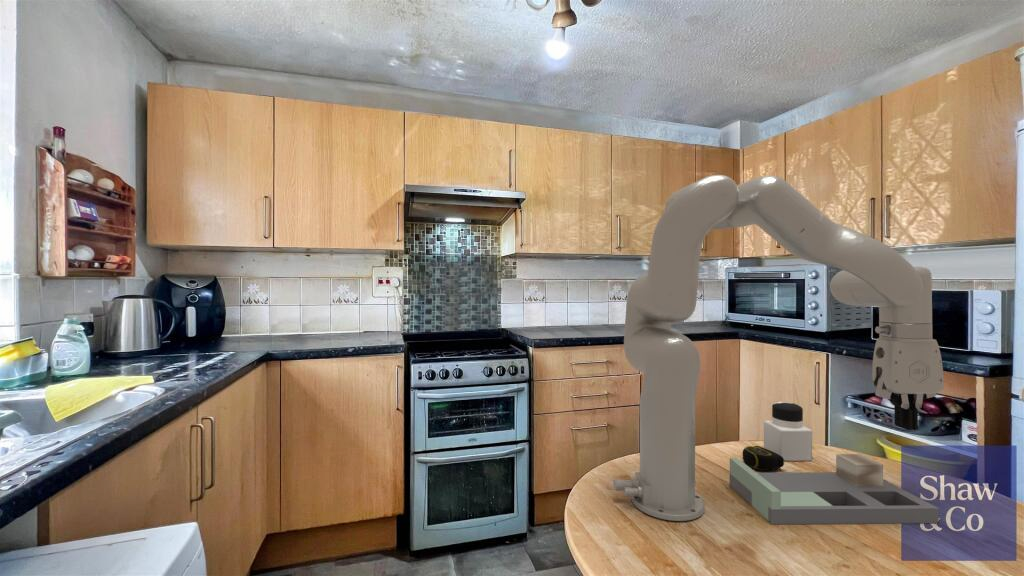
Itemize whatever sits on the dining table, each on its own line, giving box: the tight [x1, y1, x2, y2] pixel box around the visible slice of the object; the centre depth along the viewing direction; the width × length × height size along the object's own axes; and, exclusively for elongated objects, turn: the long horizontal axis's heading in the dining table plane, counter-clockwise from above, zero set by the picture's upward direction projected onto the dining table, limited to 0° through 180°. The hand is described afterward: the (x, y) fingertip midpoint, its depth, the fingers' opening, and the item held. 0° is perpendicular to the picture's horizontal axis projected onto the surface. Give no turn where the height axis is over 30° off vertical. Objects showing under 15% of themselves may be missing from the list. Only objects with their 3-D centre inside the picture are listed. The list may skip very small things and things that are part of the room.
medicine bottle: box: [763, 401, 813, 462], centre depth 102 cm, size 7×7×12 cm
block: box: [835, 453, 884, 486], centre depth 84 cm, size 5×5×4 cm
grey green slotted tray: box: [729, 457, 940, 525], centre depth 80 cm, size 28×14×6 cm, turn 90°
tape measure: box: [742, 445, 785, 471], centre depth 96 cm, size 7×7×4 cm
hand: (906, 427), depth 84 cm, fingers closed
